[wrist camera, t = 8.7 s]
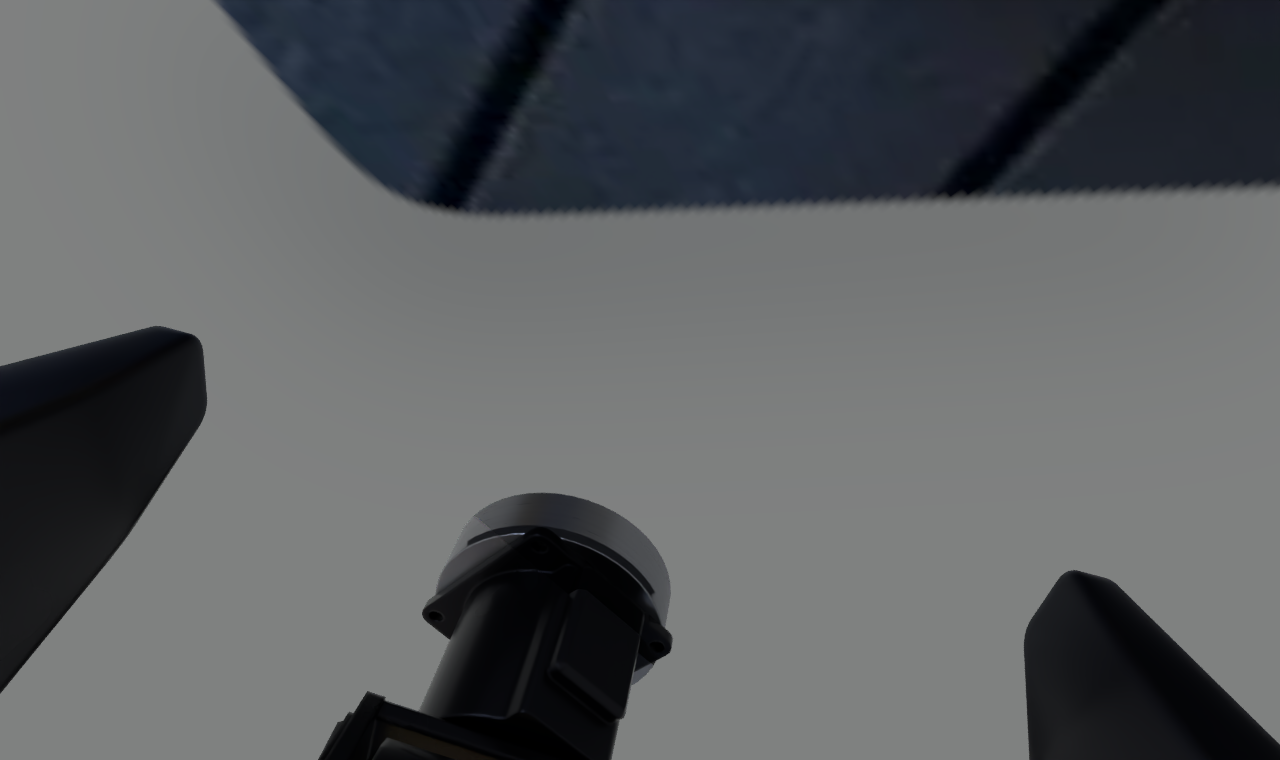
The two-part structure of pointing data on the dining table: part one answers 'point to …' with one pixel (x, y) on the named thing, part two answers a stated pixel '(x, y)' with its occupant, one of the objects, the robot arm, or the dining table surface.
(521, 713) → the robot arm
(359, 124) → the dining table surface
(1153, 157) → the dining table surface
